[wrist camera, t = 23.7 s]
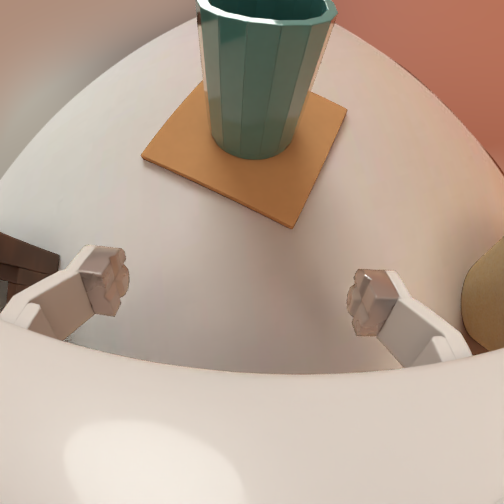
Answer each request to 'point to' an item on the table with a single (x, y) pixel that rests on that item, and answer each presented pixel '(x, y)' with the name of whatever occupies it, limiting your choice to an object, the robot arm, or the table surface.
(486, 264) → the plant pot
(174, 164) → the mat
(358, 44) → the table surface
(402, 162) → the table surface
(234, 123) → the cup
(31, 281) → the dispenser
